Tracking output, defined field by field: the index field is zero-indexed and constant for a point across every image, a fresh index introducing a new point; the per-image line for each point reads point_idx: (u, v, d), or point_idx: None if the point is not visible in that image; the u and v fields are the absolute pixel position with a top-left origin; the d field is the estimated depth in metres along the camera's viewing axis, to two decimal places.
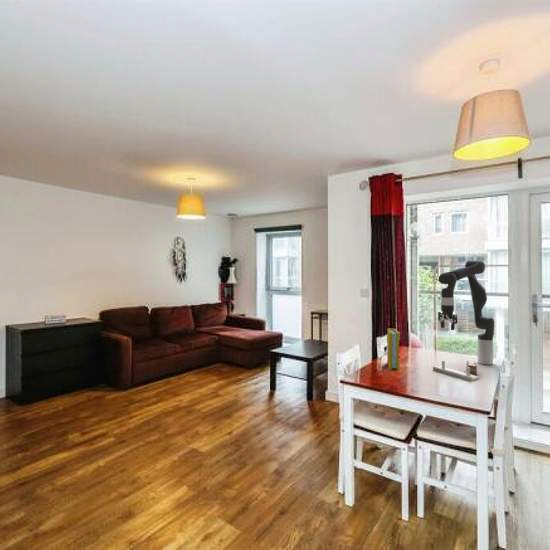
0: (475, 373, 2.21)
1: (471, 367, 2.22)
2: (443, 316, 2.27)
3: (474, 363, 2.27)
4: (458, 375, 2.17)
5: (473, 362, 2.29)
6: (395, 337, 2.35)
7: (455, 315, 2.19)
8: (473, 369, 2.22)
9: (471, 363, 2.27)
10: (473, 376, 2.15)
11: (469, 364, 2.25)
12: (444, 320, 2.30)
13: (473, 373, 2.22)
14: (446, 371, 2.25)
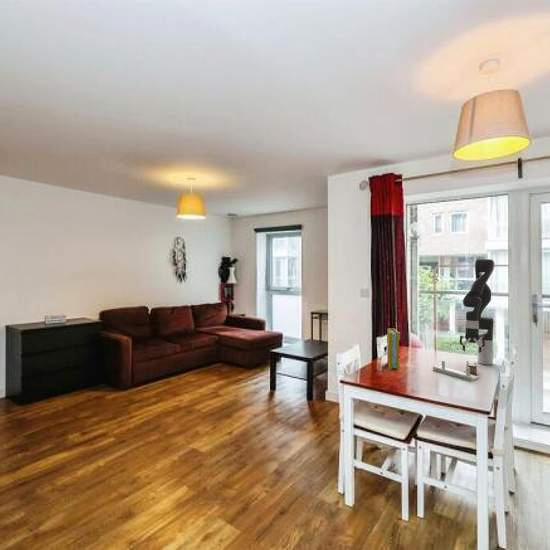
0: (475, 373, 2.21)
1: (471, 367, 2.22)
2: None
3: (474, 363, 2.27)
4: (458, 375, 2.17)
5: (473, 362, 2.29)
6: (395, 337, 2.35)
7: (460, 336, 2.30)
8: (473, 369, 2.22)
9: (471, 363, 2.27)
10: (473, 376, 2.15)
11: (469, 364, 2.25)
12: (478, 345, 2.24)
13: (473, 373, 2.22)
14: (446, 371, 2.25)
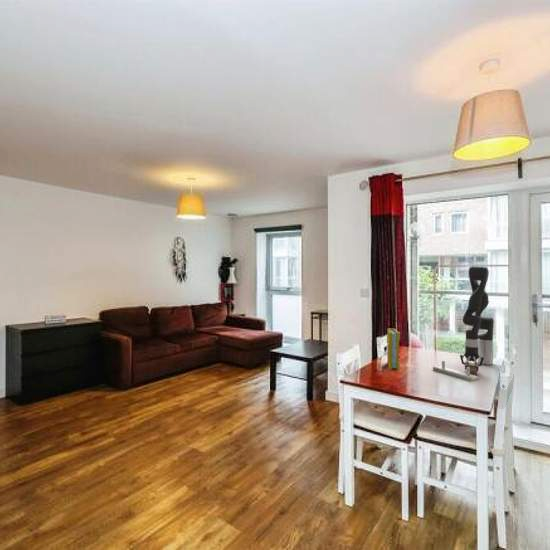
0: (475, 373, 2.21)
1: (471, 367, 2.22)
2: None
3: (474, 363, 2.27)
4: (458, 375, 2.17)
5: (473, 362, 2.29)
6: (395, 337, 2.35)
7: (460, 355, 2.30)
8: (473, 369, 2.22)
9: (471, 363, 2.27)
10: (473, 376, 2.15)
11: (469, 364, 2.25)
12: None
13: (473, 373, 2.22)
14: (446, 371, 2.25)
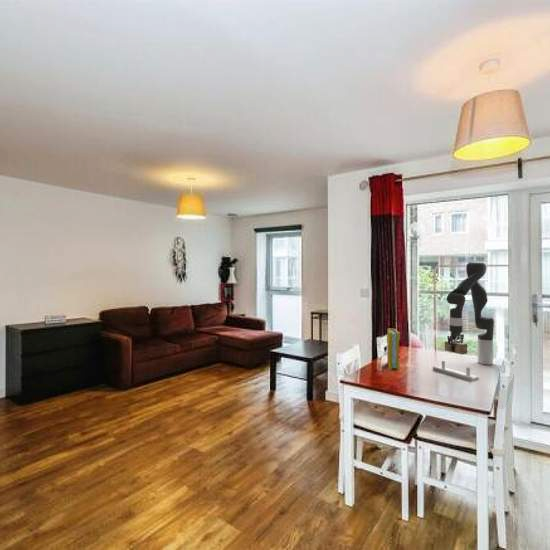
0: (466, 351, 2.19)
1: (464, 346, 2.18)
2: None
3: None
4: (458, 375, 2.17)
5: None
6: (395, 337, 2.35)
7: (449, 337, 2.20)
8: (465, 347, 2.18)
9: (456, 342, 2.23)
10: (473, 376, 2.15)
11: (459, 343, 2.20)
12: (459, 342, 2.24)
13: (465, 351, 2.18)
14: (446, 371, 2.25)
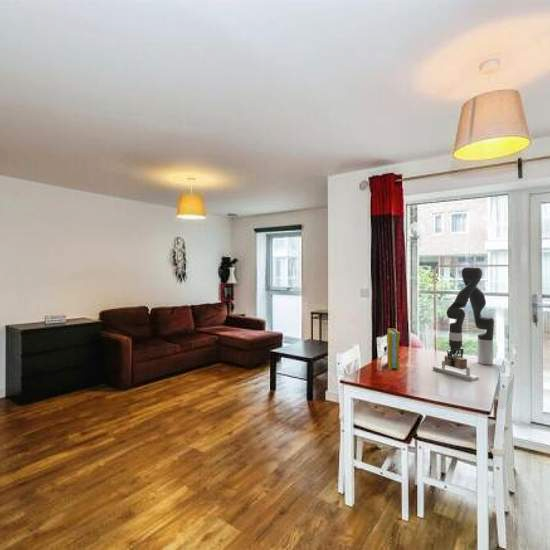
0: (466, 366, 2.19)
1: (464, 361, 2.18)
2: None
3: None
4: (458, 375, 2.17)
5: None
6: (395, 337, 2.35)
7: (448, 352, 2.20)
8: (465, 362, 2.19)
9: (455, 357, 2.23)
10: (473, 376, 2.15)
11: (459, 358, 2.20)
12: None
13: (465, 366, 2.19)
14: (446, 371, 2.25)
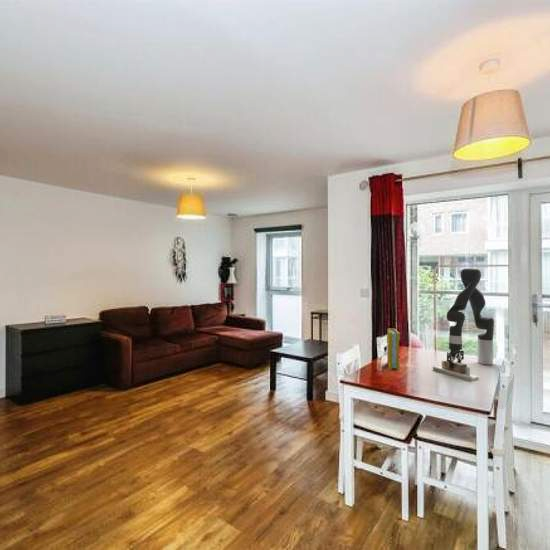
0: None
1: (464, 366, 2.18)
2: None
3: None
4: (458, 375, 2.17)
5: None
6: (395, 337, 2.35)
7: (448, 353, 2.20)
8: (465, 368, 2.19)
9: (455, 362, 2.24)
10: (473, 376, 2.15)
11: (459, 364, 2.20)
12: (459, 359, 2.25)
13: (465, 372, 2.19)
14: (446, 371, 2.25)
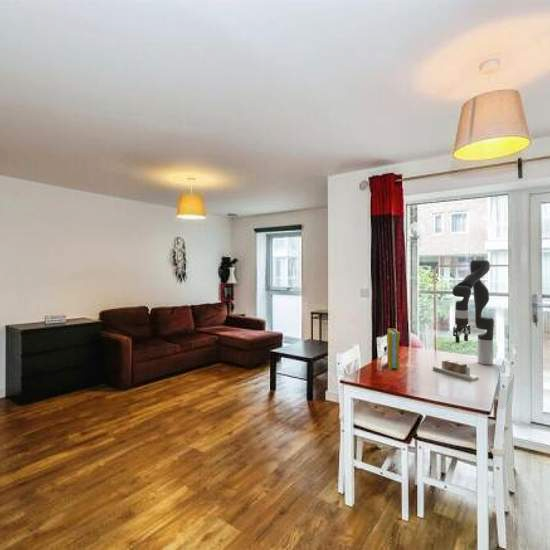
0: None
1: (464, 366, 2.18)
2: None
3: None
4: (458, 375, 2.17)
5: (452, 361, 2.27)
6: (395, 337, 2.35)
7: (455, 328, 2.20)
8: (465, 368, 2.19)
9: (455, 362, 2.24)
10: (473, 376, 2.15)
11: (459, 364, 2.20)
12: (466, 333, 2.25)
13: (465, 372, 2.19)
14: (446, 371, 2.25)
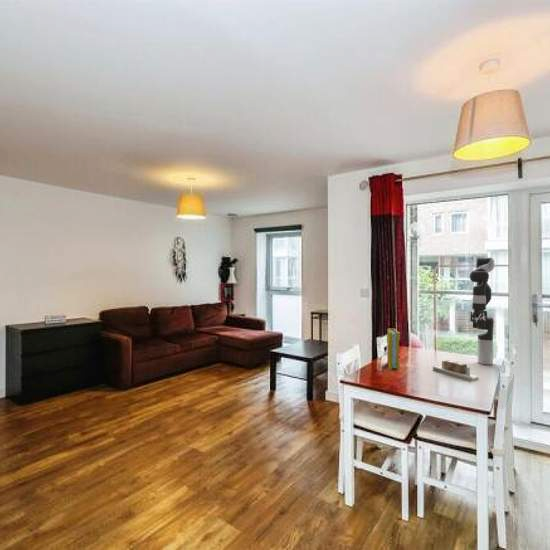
0: None
1: (464, 366, 2.18)
2: None
3: None
4: (458, 375, 2.17)
5: (452, 361, 2.27)
6: (395, 337, 2.35)
7: (472, 313, 2.20)
8: (465, 368, 2.19)
9: (455, 362, 2.24)
10: (473, 376, 2.15)
11: (459, 364, 2.20)
12: (483, 319, 2.24)
13: (465, 372, 2.19)
14: (446, 371, 2.25)
